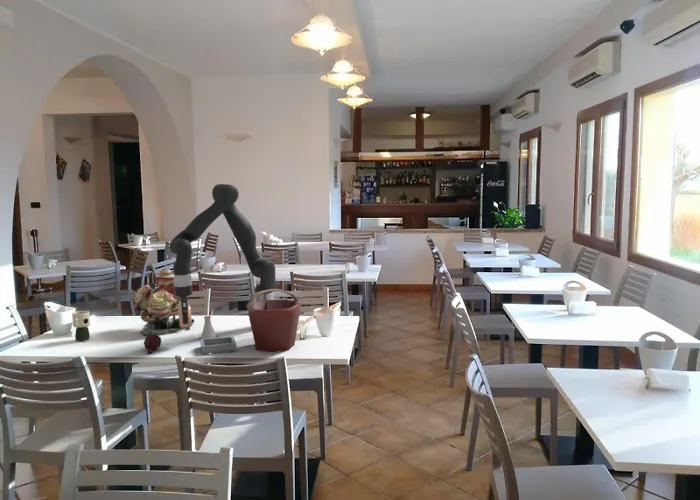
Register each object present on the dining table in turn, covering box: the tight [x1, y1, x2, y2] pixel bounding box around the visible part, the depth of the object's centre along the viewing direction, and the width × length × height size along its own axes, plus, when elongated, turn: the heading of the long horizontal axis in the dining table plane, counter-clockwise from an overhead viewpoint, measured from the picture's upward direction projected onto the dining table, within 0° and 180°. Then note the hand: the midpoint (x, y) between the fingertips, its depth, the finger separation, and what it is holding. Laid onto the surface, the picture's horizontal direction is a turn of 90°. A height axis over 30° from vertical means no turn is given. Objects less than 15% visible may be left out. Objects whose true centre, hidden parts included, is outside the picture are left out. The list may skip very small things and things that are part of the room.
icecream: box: [143, 334, 162, 355], centre depth 245 cm, size 7×7×15 cm
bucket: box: [245, 288, 301, 353], centre depth 246 cm, size 24×22×25 cm
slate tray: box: [200, 335, 237, 355], centre depth 245 cm, size 14×12×4 cm
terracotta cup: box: [178, 304, 193, 329], centre depth 250 cm, size 5×5×9 cm
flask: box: [200, 315, 217, 340], centre depth 262 cm, size 7×7×10 cm
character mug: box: [71, 310, 91, 342], centre depth 261 cm, size 11×7×13 cm, turn 0°
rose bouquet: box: [131, 268, 196, 337], centre depth 277 cm, size 26×29×30 cm
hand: (185, 322), depth 250 cm, fingers closed on terracotta cup, 5 cm apart
